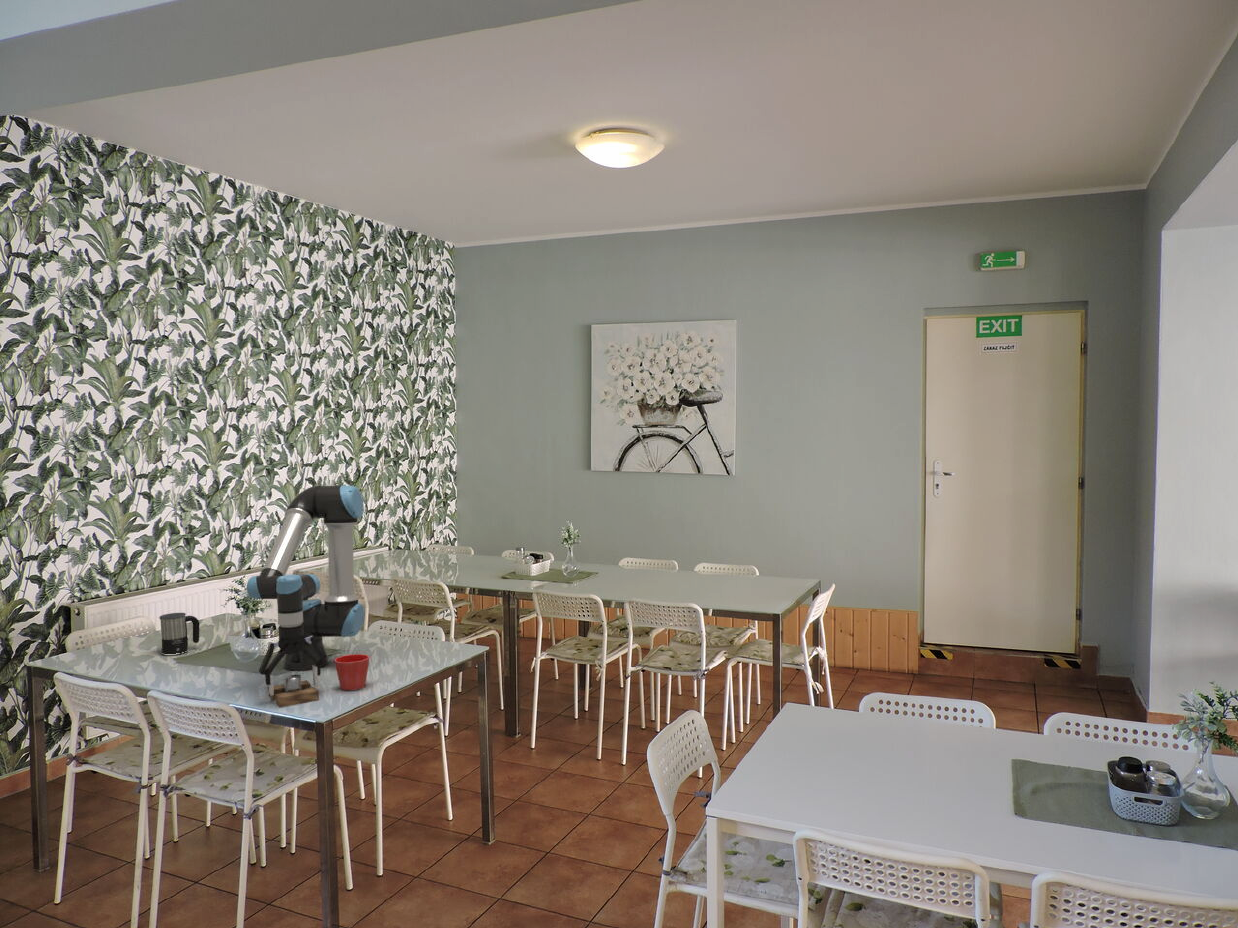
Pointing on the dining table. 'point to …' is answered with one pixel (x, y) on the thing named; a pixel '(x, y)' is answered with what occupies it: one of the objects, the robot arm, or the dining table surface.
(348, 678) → the flower pot
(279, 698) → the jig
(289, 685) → the bushing
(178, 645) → the milk frother
